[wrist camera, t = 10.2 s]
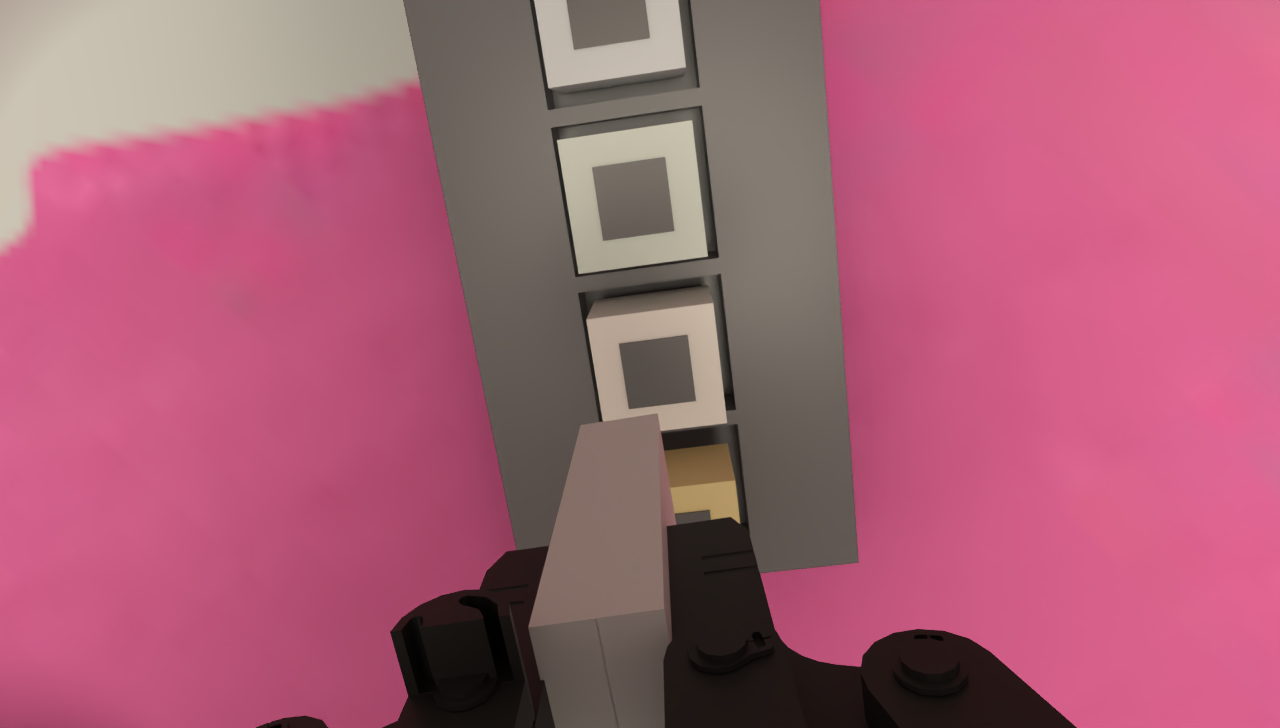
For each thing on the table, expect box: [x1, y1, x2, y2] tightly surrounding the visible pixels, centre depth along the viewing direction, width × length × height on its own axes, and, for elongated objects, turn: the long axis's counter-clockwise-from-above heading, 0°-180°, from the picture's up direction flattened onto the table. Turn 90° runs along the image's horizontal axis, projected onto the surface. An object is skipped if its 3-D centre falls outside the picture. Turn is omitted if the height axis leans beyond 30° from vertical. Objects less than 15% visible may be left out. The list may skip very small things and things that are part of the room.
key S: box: [664, 443, 740, 525], centre depth 29 cm, size 4×4×4 cm
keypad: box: [403, 0, 859, 573], centre depth 30 cm, size 14×26×2 cm, turn 8°
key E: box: [534, 0, 686, 94], centre depth 25 cm, size 4×4×4 cm
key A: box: [557, 120, 708, 274], centre depth 27 cm, size 4×4×4 cm
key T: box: [586, 285, 727, 431], centre depth 28 cm, size 4×4×4 cm
